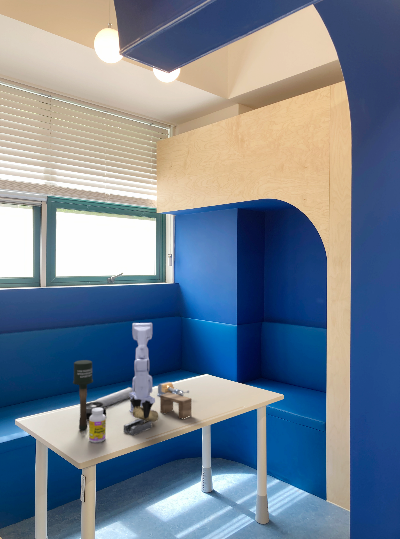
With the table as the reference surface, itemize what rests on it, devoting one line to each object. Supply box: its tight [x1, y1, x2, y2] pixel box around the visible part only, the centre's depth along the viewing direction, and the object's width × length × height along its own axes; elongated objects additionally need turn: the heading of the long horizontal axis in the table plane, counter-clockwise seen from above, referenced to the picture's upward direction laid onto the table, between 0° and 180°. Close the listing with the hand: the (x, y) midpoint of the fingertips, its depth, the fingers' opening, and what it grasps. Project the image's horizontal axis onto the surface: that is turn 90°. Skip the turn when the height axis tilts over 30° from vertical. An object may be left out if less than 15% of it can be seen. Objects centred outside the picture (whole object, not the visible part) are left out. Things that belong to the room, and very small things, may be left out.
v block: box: [123, 418, 152, 436], centre depth 186 cm, size 6×11×3 cm, turn 141°
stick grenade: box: [72, 359, 94, 432], centre depth 186 cm, size 8×9×30 cm
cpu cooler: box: [86, 401, 107, 422], centre depth 202 cm, size 10×6×10 cm
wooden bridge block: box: [159, 393, 192, 420], centre depth 205 cm, size 15×6×8 cm, turn 51°
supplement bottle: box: [88, 408, 107, 444], centre depth 175 cm, size 7×7×13 cm
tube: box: [94, 386, 132, 408], centre depth 222 cm, size 5×5×25 cm
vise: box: [156, 381, 190, 397], centre depth 231 cm, size 18×10×7 cm, turn 41°
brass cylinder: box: [132, 406, 159, 423], centre depth 189 cm, size 5×12×5 cm, turn 142°
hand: (141, 416), depth 187 cm, fingers open, 5 cm apart
